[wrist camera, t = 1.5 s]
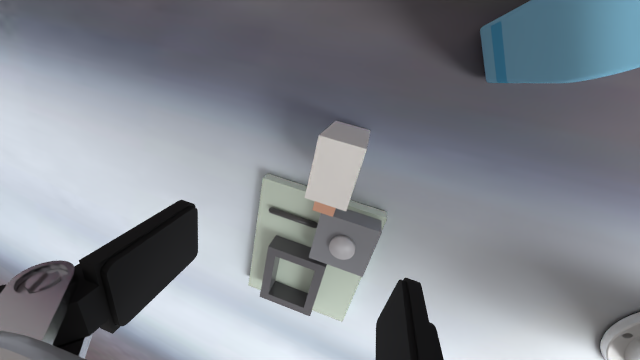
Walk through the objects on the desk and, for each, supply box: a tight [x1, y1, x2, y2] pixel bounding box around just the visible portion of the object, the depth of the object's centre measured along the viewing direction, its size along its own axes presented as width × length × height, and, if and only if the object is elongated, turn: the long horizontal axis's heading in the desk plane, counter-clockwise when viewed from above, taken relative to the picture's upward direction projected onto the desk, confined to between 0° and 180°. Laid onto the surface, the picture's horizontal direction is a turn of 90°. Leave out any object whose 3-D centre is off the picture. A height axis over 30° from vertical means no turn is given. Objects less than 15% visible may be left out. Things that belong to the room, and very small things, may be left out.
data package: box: [480, 0, 640, 83], centre depth 13 cm, size 12×4×12 cm, turn 110°
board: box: [249, 174, 387, 322], centre depth 32 cm, size 16×20×5 cm
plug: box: [304, 121, 371, 217], centre depth 23 cm, size 4×7×8 cm, turn 167°
